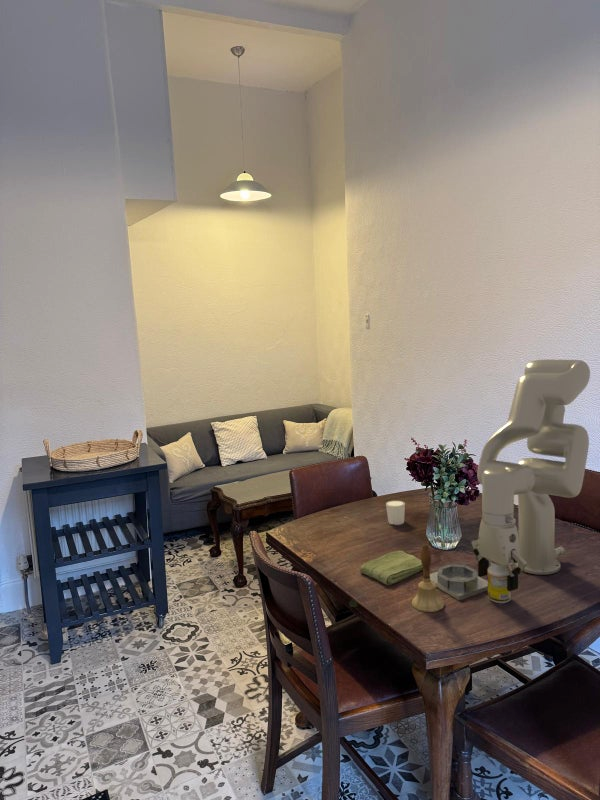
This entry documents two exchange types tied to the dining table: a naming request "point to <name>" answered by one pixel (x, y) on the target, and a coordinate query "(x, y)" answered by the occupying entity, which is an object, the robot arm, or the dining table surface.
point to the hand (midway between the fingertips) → (497, 582)
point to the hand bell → (427, 587)
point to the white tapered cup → (395, 512)
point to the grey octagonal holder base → (459, 581)
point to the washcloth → (392, 567)
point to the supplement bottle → (498, 583)
